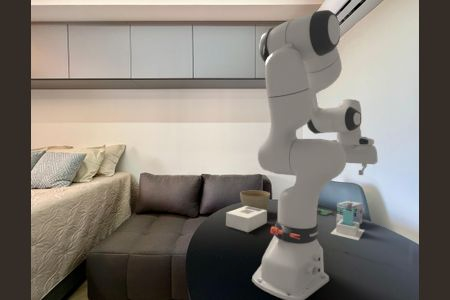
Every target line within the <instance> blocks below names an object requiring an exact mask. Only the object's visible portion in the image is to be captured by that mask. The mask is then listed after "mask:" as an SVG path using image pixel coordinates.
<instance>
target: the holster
mask: <svg viewBox="0 0 450 300" xmlns="http://www.w3.org/2000/svg"><path fill="white" fill-rule="evenodd" d="M364 232H365V229H361V228H360V224H359V223H358V222H353V227H352V226H348V225H343V219H341V220H340V221H339V222H338V223H337V222H336V227H335V228H334V229H333V230H332V231H331V232H330V234H331V235H335V236H339V237H343V238H347V239H352V240H354V241H359V240H360V238H361V237H362V236H363V233H364Z"/></svg>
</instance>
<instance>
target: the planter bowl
mask: <svg viewBox="0 0 450 300" xmlns="http://www.w3.org/2000/svg"><path fill="white" fill-rule="evenodd" d="M239 196H240V202H241V205H242V207H244V206H249V207H254V208H258V209H263V210H267V207H268V206H269V203H270V197H271V194H270V192H268V191H264V190H254V189H253V190H244V191H243V190H242V191H241V192H240V193H239Z"/></svg>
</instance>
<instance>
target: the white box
mask: <svg viewBox="0 0 450 300" xmlns="http://www.w3.org/2000/svg"><path fill="white" fill-rule="evenodd" d="M267 220H268V210H267V209H265V210H263V209H258V208H254V207H249V206H244V207H243V206H242V207H239V208H236V209H233V210H229V211H226V212H225V226H226V227H229V228H232V229H235V230H239V231H242V232H245V233H249V232H252V231H253V230H255V229H257V228H260V227H262V226H263V225H265V224H267V223H268V221H267Z"/></svg>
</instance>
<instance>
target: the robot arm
mask: <svg viewBox="0 0 450 300" xmlns="http://www.w3.org/2000/svg"><path fill="white" fill-rule="evenodd" d="M340 38H341V26H340V22H339V18H338V16H337V15H336V13H334V12H332V11H331V10H330V9H324V10H323V9H322V10H318V11H314V12H313V13H311V14H307V15H303V16H300V17H297V18H296V17H295V18H291V19H290V20H287V21H285V22H282V23H281V24H279V25H277V26H275V27H274V26H273V27H271V28H270V29H268V30H267V31H265V32H264V33H263V34H262V35H261V38H260V41H259V45H258V47H259V48H258V49H259V54H260V57H261V59H262V61H263V62H264V64H265V66H264V69H265V70H264V72H265V75H264V77H265V78H264V79H265V80H264V81H265V89H266V90H265V91H266V96H267V101H268V107H269V114H270V115H269V116H270V128H269V129H270V130H269V133H268V136H267V138H266V139H265V140H264V141H263V143H262V144H261V145H260V146H259V149H258V151H257V160H258V161H257V162H258V164H259V165H260V167H261V168H262V170H264V171H267V172H270V173H273V174H276V175H285V176H295V183H294V184H293V186H290V187H288V188H286V189H284V190H282V191H281V192H280V194H279V196H278V198H277V219H276V220H275V225H274V226H271V227H270V234H272V235H273V237H272V239H271V240H270V242H269V244H268V246H267V248H266V250H265V252H264V254H263V256H262V259H261V264H260V266H259V267H258V268H257V270H256V271H255V272H254V274H253V275H252V279H251V281H252V283H254V285H255V286H256V287H258V288H259V289H261V290H263V291H264V292H266V293H269V294H270V295H272V296H275V297H277V298H280V299H281V300H306V299H307V298H308V297H310V296H311V295H313V294H314V293H315V292H316V291H318V290H319V289H320V288H322V287H323V286H324V285H326V284H327V283H328V282H329V281H330V276H329V275H328V273H326V272H325V271H324V249H323V247H322V245H321V244H320V243H319V241H318V237H319V224H318V223H317V215H318V214H317V208H318V204H319V199H320V195H321V194H322V191H323V189H324V188H325V187H326V186H327V184H328V183H330V182H331V181H332V180H333V179H335V178H337V177H338V176H339V175H341V174H342V173H343V171H344V169H345V168H346V165H347V164H360V165H361V167H362V168H361V169H358V176H363V175H364V171H365V170H366V168H367V167H368V165H376V164H377V163H378V161H379V160H378V151H377V150H378V149H377V147H376V146H375V145H374V144H375V140H374V139H372V138H368V137H366V136H363V135H362V130H361V125H362V109H361V103H360V101H359V100H357V99H349V98H348V99H344V100H340V101H339V103H338V106H336V107H329V108H322V107H319V105H318V104H319V103H318V99H317V94H319V92H322V91H324V90H325V89H327V88H329V87H331V86H333V85H334V83H335V82H337V79H338V78H339V77H340V75H341V72H342V70H343V69H342V65H343V64H342V61H341V60H342V59H341V57H340V53H339V50H338V47H337V46H338V44H339V42H340ZM306 125H307V128H308V130H309V131H311V133H313V134H315V135H316V134H324V133H336V139H335V140H334V139H333V140H328V139H324V138H297V131H298V130H299V129H301V128H303V127H304V126H306Z"/></svg>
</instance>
